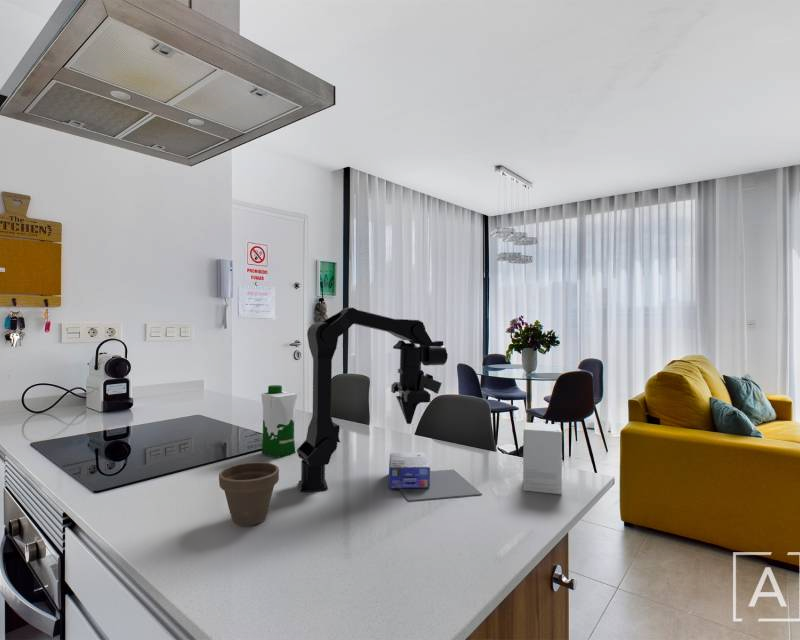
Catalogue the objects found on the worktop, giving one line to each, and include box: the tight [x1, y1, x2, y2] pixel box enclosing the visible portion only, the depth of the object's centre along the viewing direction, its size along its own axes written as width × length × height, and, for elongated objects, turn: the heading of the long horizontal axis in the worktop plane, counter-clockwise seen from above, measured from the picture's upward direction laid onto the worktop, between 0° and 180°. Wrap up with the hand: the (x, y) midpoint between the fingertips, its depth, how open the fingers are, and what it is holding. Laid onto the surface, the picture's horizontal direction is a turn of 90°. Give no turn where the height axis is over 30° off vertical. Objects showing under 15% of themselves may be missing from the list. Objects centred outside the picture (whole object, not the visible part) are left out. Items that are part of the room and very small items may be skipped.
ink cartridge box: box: [388, 452, 431, 489], centre depth 116 cm, size 10×6×14 cm
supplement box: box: [522, 421, 563, 495], centre depth 115 cm, size 9×9×15 cm
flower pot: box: [218, 461, 280, 527], centre depth 94 cm, size 12×11×10 cm
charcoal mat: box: [398, 469, 483, 503], centre depth 115 cm, size 18×18×1 cm
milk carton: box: [260, 384, 299, 459], centre depth 140 cm, size 9×9×20 cm
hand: (408, 423), depth 126 cm, fingers closed
